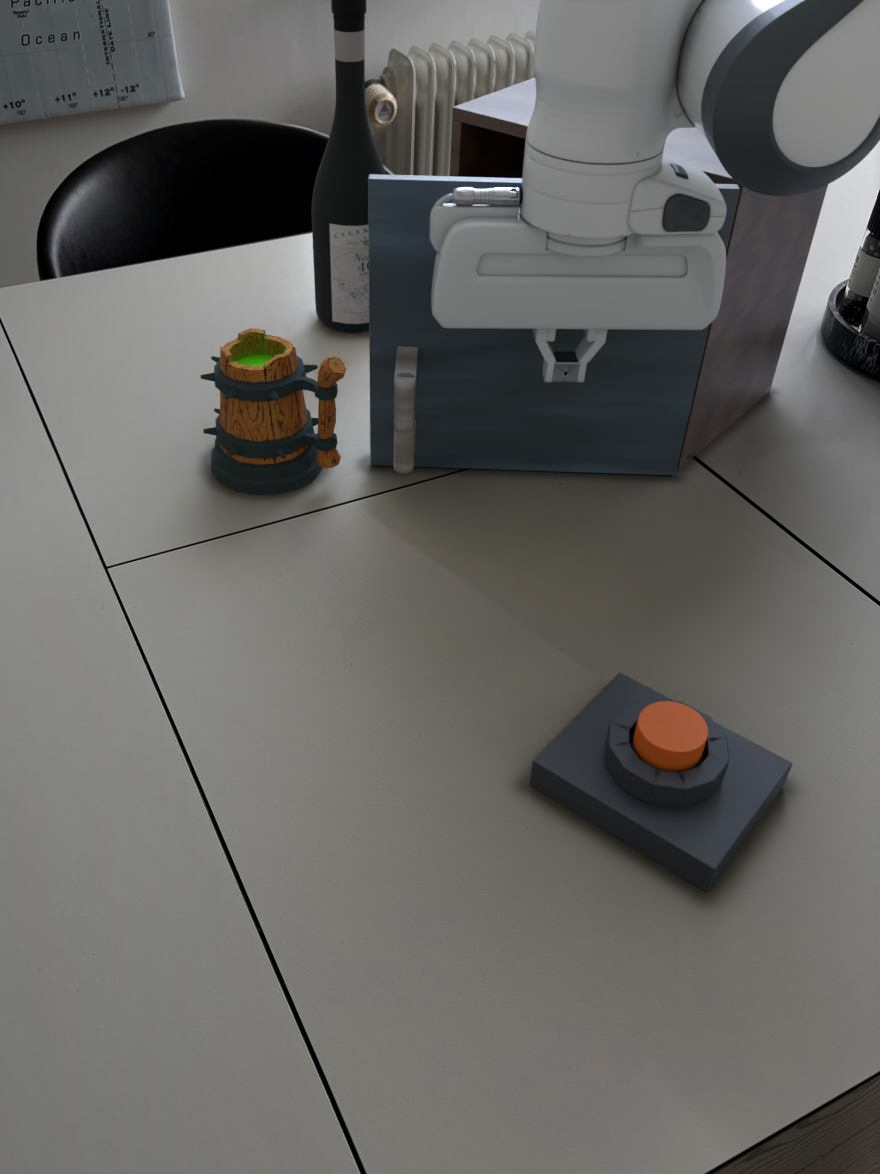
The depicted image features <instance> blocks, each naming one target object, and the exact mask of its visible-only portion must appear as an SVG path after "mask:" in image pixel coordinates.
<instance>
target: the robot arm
mask: <svg viewBox="0 0 880 1174" xmlns="http://www.w3.org/2000/svg"><path fill="white" fill-rule="evenodd" d="M532 55H533V56H532V69H533V75H534V78H535V82H536V101H535V106H534V110H533V113H532V116H531V119H530V121H529V124H528V127H527V133H526V141H525V151H524V162H523V173H522V186H520V187H495V188H489V189H488V188H486V189H474V188H473V187H459V188H455V189H454V190H453V193H451V194H448V195H445V196H443V197H442V198H440V199H439V200H438V201H437V202H436V203H435V204H434V206H433V208H432V210H431V213H430V226H429V239H430V243H431V245H432V247H433V249H434V250H435V251H436V252H437V253H436V258H435V264H434V271H433V279H432V289H431V309H432V314H433V316H434V318H435V319H436V320H437V321H438V323H439V324H440V325H441V326H442V327H444V328H476V329H533V333H534V337H535V341H536V343H537V345H538V347H539V349H540V351H541V353H542V355H543V357H544V362H543V378H544V382H584V379H585V372H586V365H587V363H588V362H589V361H590V360H591V359H592V358H593V357H594V355H595V354H596V353H597V352H598V351H599V349H600V348H601V347H602V346H603V345H604V343H605V342H606V336H607V330H608V329H629V330H703V329H705V328H706V327H707V326H708V325H709V324H710V323H711V322H712V321H713V320H714V319H715V318H716V317H717V315H718V312H719V308H720V304H721V299H722V293H723V287H724V279H725V268H726V250H725V246H724V243H723V241H722V239H721V238H720V236H719V234H718V232H717V231H719V230H720V229H721V227H722V226H723V223H724V221H725V217H726V212H727V207H726V204H725V201H724V198H723V196H722V194H721V192H720V191H719V189H718V188H717V186H716V185H715V184H714V183H713V181H712V180H711V179H710V178H709V177H708V176H707V175H706V174H705V173H704V172H703V171H701V170H700V169H698V168H695V167H693V166H690V165H687V164H685V163H682V162H679V161H676V160H673V159H671V158H668V157H665V156H663V152H664V146H665V140H666V138H667V136H668V135H669V133H670V132H672V131H673V130H675V129H677V128H694V127H696V128H697V129H698V130H699V131H700V132H701V133H702V134H703V135H704V136H705V138H706V139H707V140H708V142H709V144H710V145H711V147H712V149H713V150H714V152H715V154H716V156H717V157H718V159H719V161H720V162H721V164H722V166H723V167H724V169H725V170H726V172H727V173H728V174H729V175H730V176H731V177H732V178H733V179H734V180H735V181H736V182H737V183H739V184H740V185H742V186H743V187H745V188H747V189H749V190H751V191H753V192H756V193H759V194H763V195H769V196H793V195H798V194H803V193H807V192H810V191H813V190H816V189H819V188H821V187H823V186H825V185H828V186H829V185H830V184H831V183H833V182H835V181H837V180H839V179H840V178H842V177H843V176H845V175H846V174H847V173H849V172H850V171H852V170H853V169H854V168H856V166H858V165H859V164H860V163H861V162H862V161H863V160H864V159H865V158H866V157H867V156H868V155H869V154H870V153H871V151H873V150H874V148H875V147H876V146H877V144H878V143H879V142H880V0H539V5H538V12H537V18H536V27H535V35H534V45H533V54H532ZM450 200H453V203H445V202H447V201H450ZM519 204H520V206H519ZM556 329H583V330H584V333H585V337H584V339H583V340H582V341H581V343H580V344H579V346H578V347H577V348H576V350H575V351H553V349H552V347H551V345H550V343H549V341H554V340H555V334H556Z"/></svg>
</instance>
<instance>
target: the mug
mask: <svg viewBox="0 0 880 1174" xmlns="http://www.w3.org/2000/svg"><path fill="white" fill-rule="evenodd" d="M210 360H212V361H213V362H215V365H214V366H213V372H210V373H204V374H200V380H205V381H210V382H214V387H215V388H216V389H217V390H218V391H219V408H216V407H215V408H214V409H213V412H214V413H216V414H218V415H217V417H216V418H215V426H213V427H209V428H204V429H202V433H203V434H207V435H212V436H215V439H214V447H213V448H212V449H211V452H210V453H211V455H210V466H211V472H212V473H213V475H214V476H215V478H216V479H217V481H218V482H219V483H220V484H222V485H224V486H226V487H228V488H230V489H232V490H233V491H236V492H239V493H241V492H242V493H246V494H251V495H252V494H253V495H256V496H257V495H279V494H283V493H287V492H291V491H293V490H297V489H300V488H302V487H303V486H305V485H308V483H310V482H311V481H313V480H315V479H316V478H317V476H319V473H320V472H321V470H322V469H330V468H335V467H337V466H339V464H340V462H341V459H342V456H341V454H340V452H339V450H338V449H337V447H338V443H339V442H338V436H337V433H335V428H336V423H337V405H336V403H337V402H336V399H337V397H338V393H339V390H338V389H339V388H338V387H339V386H338V383H337V382H339V381H340V380H342V379H344V377H345V375H346V371H347V367H346V364H345V362H344V361H343V360H342V359H341V358H340V357H337V356H334V355H333V356H329V357H325V358H324V359H323V360H322V362H321V363H320V366H319V365H318V364H305V363H304V360H303V358H301V357H300V356H299V355H298V354H297V350H296V346H295V345H294V344H293V343H292V342H291V341H290V340H288V339H287V338H282V337H281V336H277V335H270V334H266V331H265V329H259V328H253V327H252V328H251V327H250V328H248V329H245V330H242V331H240V332H238V333H237V338H235V339H232V340H231V341H228V342H226V343H225V344H224V345H220V346H219V356H214V355H211V357H210ZM316 370H318V372H317V380H315V379H314V378H311V377H307V374H308V373H312V372H313V371H316ZM304 391H308V392H311V393H313V394H314V397H315V398H316V399H318V406H317V407H318V411H317V417H312V414H311V411H310V410H309V409H308V408H307V405H306V399H305V395H304ZM316 426H317V433H315V428H314V427H316Z"/></svg>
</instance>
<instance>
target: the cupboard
mask: <svg viewBox="0 0 880 1174" xmlns="http://www.w3.org/2000/svg"><path fill="white" fill-rule="evenodd" d="M535 101H536V82H535V77H532V78H530V79H527V80H523V81H521V82H518V83H515V84H513V85H510V86H507V87H504V88H502V89H499V90H496V91H493V92H490V93H487V94H484V95H482V96H479V97H477V98H474V99H471V100H468V101H466V102H465V101H464V102H463V103H460V104H457V105H455V106H452V111H451V114H452V115H451V133H450V134H451V135H450V157H449V176H454V177H490V178H522V173H523V162H524V151H525V141H526V133H527V127H528V124H529V121H530V119H531V116H532V113H533V110H534V106H535ZM663 156H665V157H668V158H671V159H673V160H676V161H679V162H682V163H685V164H687V165H690V166H693V167H695V168H698V169H700V170H701V171H703V172H704V173H705V174H706V175H707V176H708V177H709V178H710V179H711V180H712V181H713V183H714V184H737V185H738V186H739V188H740V192H739V196H738V201H737V205H736V210H735V214H734V218H733V223H732V227H731V232H730V236H729V240H728V245H727V249H726V268H725V279H724V287H723V293H722V299H721V304H720V308H719V312H718V315H717V317H716V318H715V319H714V320H713V321H712V322H711V323H710V324H709V329H708V333H707V337H706V342H705V346H704V351H703V355H702V359H701V364H700V368H699V373H698V377H697V381H696V386H695V390H694V395H693V399H692V403H691V408H690V412H689V417H688V421H687V425H686V430H685V434H684V439H683V443H682V447H681V452H680V456H679V461H678V465H677V470H678V471H679V470H681V468H683V467H684V466H685V465H687V464H688V462H690V461H691V460H692V459H693V458H694V457H695V456H697V455H698V454H699V453H700V452H701V451H702V450H703V449H705V448H706V447H707V446H708V445H710V443H712V442H713V441H714V440H715V439H717V437H719V436H720V435H721V434H722V433H723V432H725V431H726V430H727V429H728V428H729V427H731V426H732V425H733V423H735V422H736V421H737V420H738V419H739V418H741V417H742V416H743V415H744V414H745V413H746V412H748V411H749V410H750V409H751V408H752V407H754V406H755V405H756V404H757V403H758V402H759V401H761V400H762V399H763V398H764V397H766V395H768V394H769V393H770V392H771V389H772V386H773V385H772V384H773V381H774V378H775V375H776V371H777V367H778V364H779V360H780V357H781V353H782V349H783V346H784V342H785V339H786V335H787V332H788V328H789V325H790V322H791V318H792V314H793V311H794V308H795V304H796V300H797V297H798V293H799V290H800V286H801V282H802V279H803V276H804V272H805V268H806V264H807V261H808V257H809V254H810V251H811V246H812V243H813V240H814V236H815V232H816V230H817V225H818V222H819V218H820V215H821V211H822V207H823V205H824V201H825V198H826V193H827V190H828V187H829V184H828V185H825V186H823V187H821V188H819V189H816V190H813V191H810V192H807V193H803V194H798V195H793V196H769V195H763V194H759V193H756V192H753V191H751V190H749V189H747V188H745V187H743V186H742V185H740V184H739V183H737V182H736V181H735V180H734V179H733V178H732V177H731V176H730V175H729V174H728V173H727V172H726V170H725V169H724V167H723V166H722V164H721V162H720V161H719V159H718V157H717V156H716V154H715V152H714V150H713V149H712V147H711V145H710V144H709V142H708V140H707V139H706V138H705V136H704V135H703V134H702V133H701V132H700V131H699V130H698V129H697V128H696V127H694V128H677V129H675V130H673V131H672V132H670V133H669V135H668V136H667V138H666V140H665V146H664V152H663ZM677 470H676V471H677Z"/></svg>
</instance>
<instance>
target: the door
mask: <svg viewBox="0 0 880 1174" xmlns="http://www.w3.org/2000/svg"><path fill="white" fill-rule="evenodd" d="M715 185H716V186H717V188H718V189H719V191H720V192H721V194H722V196H723V198H724V201H725V204H726V207H727V212H726V217H725V221H724V223H723V226H722V227H721V229H720V230H719V231H717V232H718V234H719V236H720V238H721V239H722V241H723V243H724V246H725V250H726V249H727V245H728V240H729V236H730V232H731V227H732V223H733V218H734V214H735V210H736V205H737V201H738V196H739V192H740V188H739V186H738V185H737V184H715ZM520 186H522V178H490V177H454V176H450V175H449V176H448V175H417V174H416V175H414V174H413V175H412V174H411V175H410V174H386V175H381V174H369V177H368V234H369V332H368V334H369V335H368V336H369V337H368V339H369V342H368V343H369V344H368V345H369V346H368V347H369V355H368V357H369V446H370V447H369V451H370V452H369V455H370V457H369V458H370V460H369V463H370V464H369V465H371V466H385V467H386V466H387V467H388V466H389V467H393V470H394V471H395V472H396V473H398V474H409V473H411V472H413V470H414V468H415V467H416V468H417V467H418V468H444V469H445V468H446V469H475V470H477V469H478V470H501V471H502V470H505V471H506V470H507V471H533V472H534V471H536V472H562V473H564V472H566V473H593V474H594V473H595V474H621V475H622V474H623V475H625V474H626V475H654V476H655V475H657V476H676V473H677V465H678V461H679V456H680V452H681V447H682V443H683V439H684V434H685V430H686V425H687V421H688V417H689V412H690V408H691V403H692V399H693V395H694V390H695V386H696V381H697V377H698V373H699V368H700V364H701V359H702V355H703V351H704V346H705V342H706V337H707V333H708V329H709V325H708V326H707V327H706V328H705V329H703V330H629V329H608V330H607V336H606V342H605V343H604V345H603V346H602V347H601V348H600V349H599V351H598V352H597V353H596V354H595V355H594V357H593V358H592V359H591V360H590V361H589V362H588V363H587V365H586V372H585V379H584V382H544V378H543V362H544V357H543V355H542V353H541V351H540V349H539V347H538V345H537V343H536V341H535V337H534V333H533V329H476V328H444V327H442V326H441V325H440V324H439V323H438V321H437V320H436V319H435V318H434V316H433V314H432V309H431V289H432V279H433V271H434V264H435V258H436V253H437V252H436V251H435V250H434V249H433V247H432V245H431V243H430V239H429V226H430V213H431V210H432V208H433V206H434V204H435V203H436V202H437V201H438V200H439V199H440V198H442V197H443V196H445V195H448V194H451V193H453V190H454V189H455V188H459V187H473V188H474V189H486V188H488V189H489V188H495V187H520ZM445 203H453V200H450V201H447V202H445ZM519 206H520V204H519ZM584 337H585V333H584V330H583V329H556V334H555V340H554V341H549V343H550V345H551V347H552V349H553V351H575V350H576V348H577V347H578V346H579V344H580V343H581V341H582V340H583V339H584Z"/></svg>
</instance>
